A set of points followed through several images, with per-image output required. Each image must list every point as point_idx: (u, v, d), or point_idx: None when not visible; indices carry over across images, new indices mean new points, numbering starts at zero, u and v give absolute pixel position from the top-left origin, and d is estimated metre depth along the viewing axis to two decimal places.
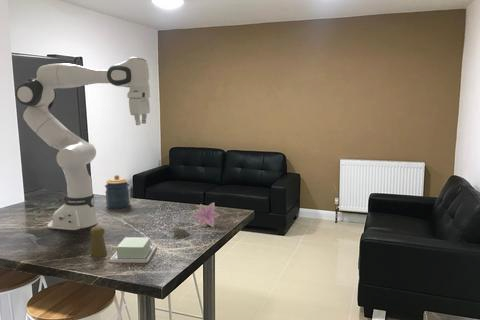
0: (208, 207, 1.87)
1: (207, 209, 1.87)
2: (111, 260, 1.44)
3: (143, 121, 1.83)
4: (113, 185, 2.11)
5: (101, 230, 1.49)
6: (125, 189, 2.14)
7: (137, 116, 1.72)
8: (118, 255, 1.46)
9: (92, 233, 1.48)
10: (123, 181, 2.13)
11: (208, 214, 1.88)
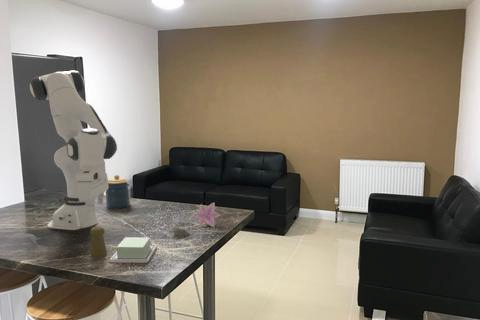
0: (208, 208, 1.87)
1: (207, 209, 1.87)
2: (111, 260, 1.44)
3: (99, 201, 1.52)
4: (113, 185, 2.11)
5: (101, 230, 1.49)
6: (125, 189, 2.14)
7: (88, 202, 1.41)
8: (118, 255, 1.46)
9: (92, 233, 1.48)
10: (123, 181, 2.13)
11: (208, 214, 1.87)
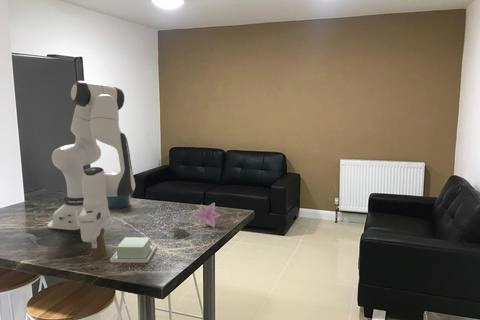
0: (208, 208, 1.87)
1: (207, 209, 1.87)
2: (111, 260, 1.44)
3: None
4: None
5: (101, 230, 1.49)
6: None
7: (93, 239, 1.46)
8: (118, 255, 1.46)
9: None
10: None
11: (208, 214, 1.87)
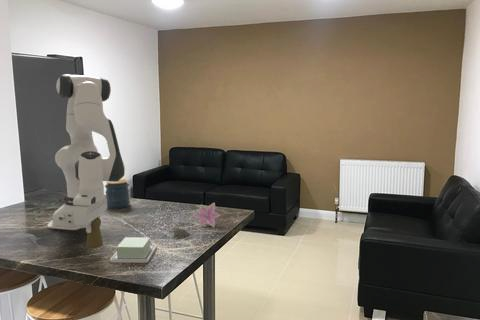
0: (209, 208, 1.87)
1: (208, 209, 1.87)
2: (111, 260, 1.44)
3: None
4: (113, 185, 2.11)
5: (98, 221, 1.48)
6: (125, 189, 2.14)
7: (87, 223, 1.44)
8: (118, 255, 1.46)
9: None
10: (123, 181, 2.13)
11: (209, 214, 1.87)
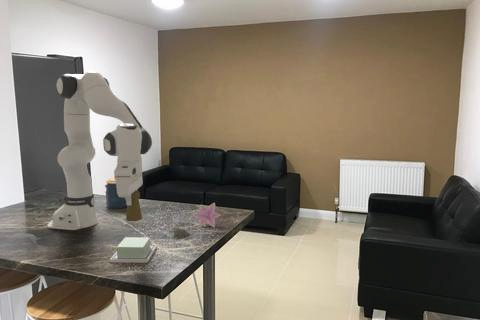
0: (209, 208, 1.87)
1: (208, 209, 1.87)
2: (111, 260, 1.44)
3: None
4: (113, 185, 2.11)
5: (137, 193, 1.46)
6: None
7: None
8: (118, 255, 1.46)
9: None
10: None
11: (209, 214, 1.87)
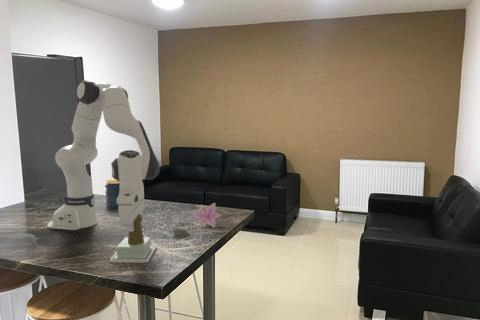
0: (209, 208, 1.87)
1: (208, 209, 1.87)
2: (111, 260, 1.44)
3: None
4: (113, 185, 2.11)
5: (139, 217, 1.48)
6: None
7: (130, 222, 1.44)
8: (118, 255, 1.46)
9: None
10: None
11: (209, 214, 1.87)
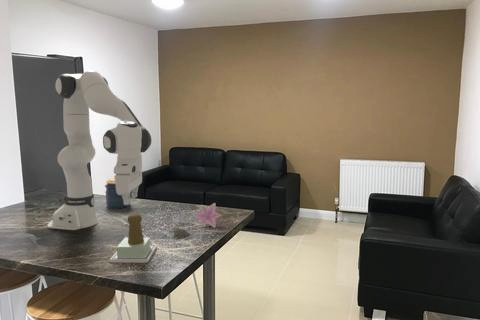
0: (209, 208, 1.86)
1: (208, 210, 1.86)
2: (111, 260, 1.44)
3: (133, 195, 1.51)
4: (113, 185, 2.11)
5: (139, 217, 1.48)
6: None
7: (125, 195, 1.40)
8: (118, 255, 1.46)
9: (130, 220, 1.47)
10: None
11: (209, 215, 1.87)
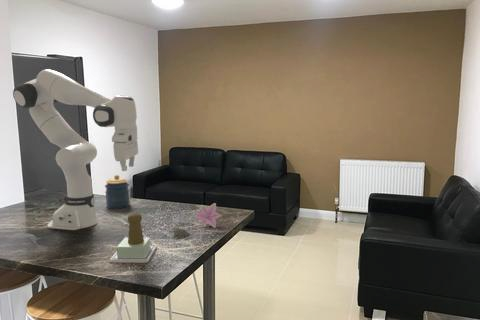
0: (209, 208, 1.86)
1: (208, 210, 1.86)
2: (111, 260, 1.44)
3: (130, 164, 1.66)
4: (113, 185, 2.11)
5: (139, 216, 1.48)
6: (125, 189, 2.14)
7: (123, 161, 1.55)
8: (118, 255, 1.46)
9: (130, 219, 1.47)
10: (123, 181, 2.13)
11: (209, 215, 1.86)
